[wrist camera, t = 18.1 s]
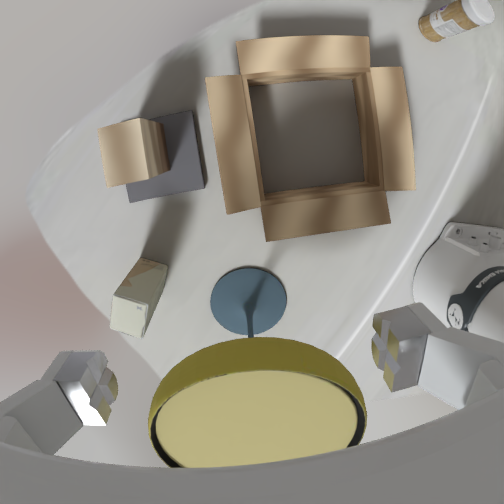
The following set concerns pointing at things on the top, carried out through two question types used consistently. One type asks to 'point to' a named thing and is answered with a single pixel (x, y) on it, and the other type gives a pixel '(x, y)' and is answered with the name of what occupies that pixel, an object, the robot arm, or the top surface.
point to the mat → (174, 161)
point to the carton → (370, 125)
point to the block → (133, 151)
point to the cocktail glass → (254, 390)
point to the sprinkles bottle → (456, 19)
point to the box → (137, 298)
